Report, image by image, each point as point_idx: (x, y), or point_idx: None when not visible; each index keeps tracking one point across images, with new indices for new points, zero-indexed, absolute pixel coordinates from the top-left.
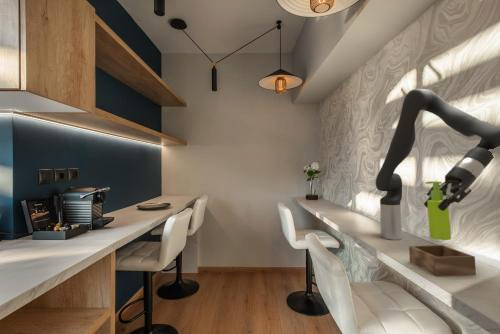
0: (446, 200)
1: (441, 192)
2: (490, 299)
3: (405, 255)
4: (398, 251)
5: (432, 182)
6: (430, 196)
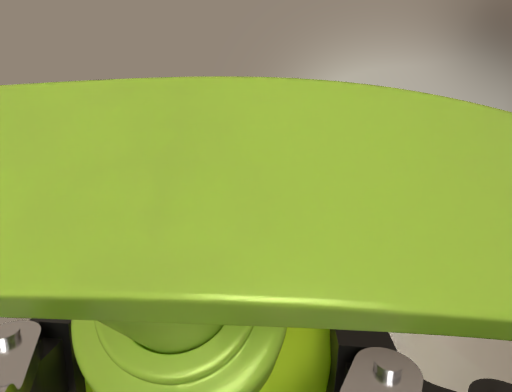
0: (44, 328)
1: (82, 323)
2: (29, 319)
3: (411, 348)
4: (473, 357)
5: (170, 102)
6: (366, 350)
